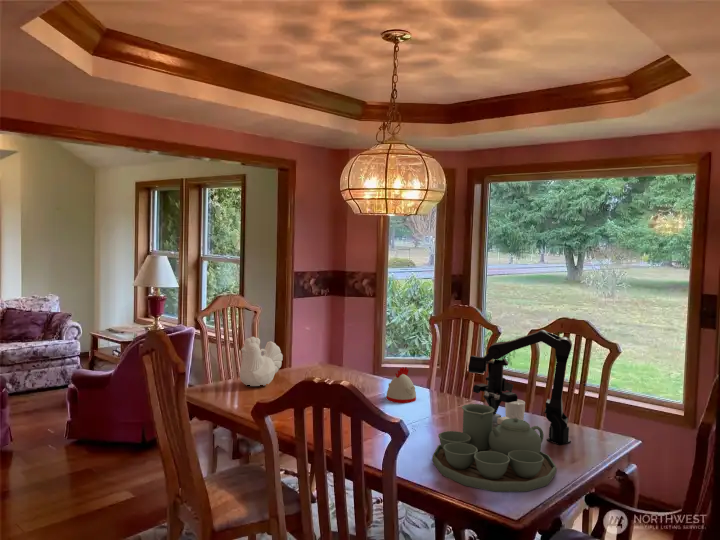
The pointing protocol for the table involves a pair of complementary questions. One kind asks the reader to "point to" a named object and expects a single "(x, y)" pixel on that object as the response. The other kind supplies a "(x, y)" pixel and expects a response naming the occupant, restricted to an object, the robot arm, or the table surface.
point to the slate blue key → (496, 417)
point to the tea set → (494, 453)
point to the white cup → (515, 409)
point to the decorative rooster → (259, 362)
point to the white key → (501, 419)
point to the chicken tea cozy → (401, 388)
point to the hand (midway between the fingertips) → (494, 414)
